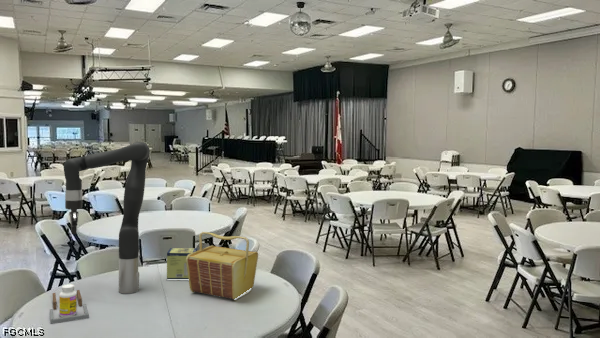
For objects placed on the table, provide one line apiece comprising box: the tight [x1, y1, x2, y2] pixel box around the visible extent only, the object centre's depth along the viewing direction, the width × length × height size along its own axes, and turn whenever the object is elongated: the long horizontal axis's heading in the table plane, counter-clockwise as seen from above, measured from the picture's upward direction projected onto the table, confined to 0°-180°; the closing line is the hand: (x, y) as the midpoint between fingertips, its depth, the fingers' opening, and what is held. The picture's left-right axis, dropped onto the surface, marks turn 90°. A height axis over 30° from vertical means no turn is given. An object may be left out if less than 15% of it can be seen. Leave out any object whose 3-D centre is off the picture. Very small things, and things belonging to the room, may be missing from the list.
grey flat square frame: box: [49, 304, 90, 325], centre depth 198 cm, size 14×13×2 cm
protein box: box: [166, 247, 198, 280], centre depth 254 cm, size 10×16×16 cm
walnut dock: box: [52, 289, 83, 311], centre depth 212 cm, size 11×13×4 cm
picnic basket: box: [186, 231, 259, 300], centre depth 233 cm, size 29×26×30 cm
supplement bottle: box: [58, 283, 78, 318], centre depth 198 cm, size 7×7×13 cm
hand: (74, 233), depth 226 cm, fingers closed
